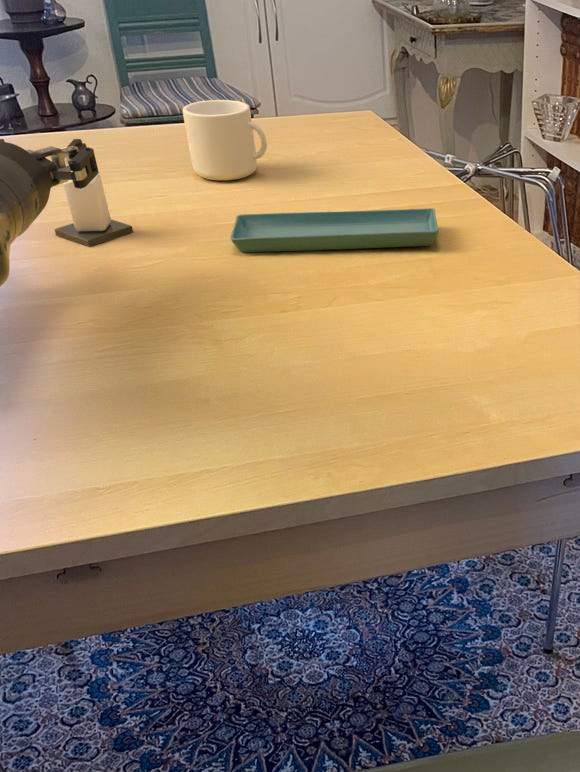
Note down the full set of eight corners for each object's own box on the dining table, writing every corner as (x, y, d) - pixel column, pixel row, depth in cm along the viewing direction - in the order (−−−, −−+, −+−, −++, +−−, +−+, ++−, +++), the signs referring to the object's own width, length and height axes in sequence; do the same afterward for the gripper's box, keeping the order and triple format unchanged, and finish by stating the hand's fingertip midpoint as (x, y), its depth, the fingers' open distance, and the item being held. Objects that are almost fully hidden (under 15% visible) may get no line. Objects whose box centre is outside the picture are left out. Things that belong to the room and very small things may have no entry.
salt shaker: (106, 232, 121) (86, 152, 115) (74, 233, 121) (52, 152, 115) (113, 222, 124) (94, 143, 118) (82, 222, 124) (61, 143, 118)
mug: (283, 166, 146) (275, 101, 140) (260, 186, 139) (250, 118, 133) (210, 161, 148) (199, 96, 142) (183, 181, 140) (171, 113, 134)
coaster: (89, 246, 120) (87, 240, 119) (55, 235, 123) (53, 229, 122) (133, 232, 124) (132, 225, 123) (99, 221, 127) (98, 214, 126)
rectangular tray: (232, 255, 118) (229, 235, 116) (239, 230, 125) (236, 211, 123) (439, 251, 120) (439, 231, 118) (435, 226, 127) (434, 207, 125)
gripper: (60, 153, 93) (97, 111, 105) (-89, 153, 92) (-35, 111, 104) (81, 231, 98) (114, 183, 110) (-61, 232, 97) (-12, 183, 109)
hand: (42, 148), depth 107 cm, fingers open, 8 cm apart
